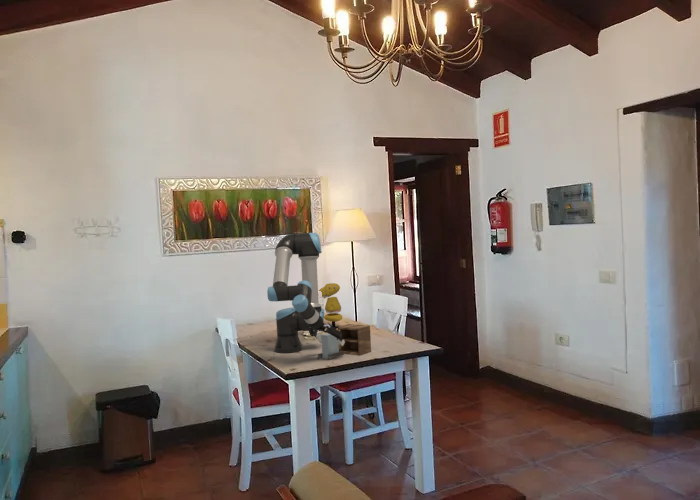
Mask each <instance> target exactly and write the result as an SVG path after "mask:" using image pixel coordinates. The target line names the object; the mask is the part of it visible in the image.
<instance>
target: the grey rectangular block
mask: <svg viewBox="0 0 700 500" xmlns="http://www.w3.org/2000/svg"><path fill="white" fill-rule="evenodd" d="M320 335H321V339H322V344H321V353H322V358H321V359H326V360H327V359H328V355H331V354H334V353H337V352H339V342H338V341H337V339H336V337H334V336H332V335H330V334H329V333H324V334H320ZM328 360H329V359H328Z"/></svg>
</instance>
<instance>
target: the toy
mask: <svg viewBox="0 0 700 500" xmlns="http://www.w3.org/2000/svg"><path fill="white" fill-rule="evenodd" d="M340 289H341V287H340V285H339V284H338V283H331V282H329V283H326V284H325V285H324V286H323V287H321V288H320V289H318V291H321V292H322V297H321V298H323V299H326V302H325V306H324V311H325V313H327V314H324V321H328V322H331V326H333V327H334V328H336V329H338V327H340V326H341V325H340V326H339V325H336V322H339V321H341V320H343V315H342V314H340V312H342V306H341V303H340V302H339V299H338V297H337V296H333V295H336V294H337V293H338V292H339V291H340Z"/></svg>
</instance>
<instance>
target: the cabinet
mask: <svg viewBox="0 0 700 500" xmlns="http://www.w3.org/2000/svg"><path fill="white" fill-rule="evenodd" d="M337 330H338V331H340V332H341V333H342V338H343V340H344V341H345V343H344V345H343V346H341V344H340V343H339V352H337V353H334V354H331V355H328V360H333V359H335V358H338V357H341V356H344V355H352V356H363V355H366V354H368V353H371V352H372V341H371V340H372V339H371V325H368V324H367V325H366V324H355V323H354V324H353V323H352V324H351V323H348V324H344V325H340V327H338V328H337ZM317 357H318V359H323V358H322V352H321V353H317Z"/></svg>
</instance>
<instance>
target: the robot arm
mask: <svg viewBox="0 0 700 500" xmlns="http://www.w3.org/2000/svg"><path fill="white" fill-rule="evenodd" d="M274 250H275V251H274V256H275V265H274V271H273V279H272V281H273V282H272V285H271V286H268V287H267V293H266V294H267V299H268V301H269V302H288V301H291V305H292V307H287V308H282V309H280V310H278V311H277V312H276V314H275V316H276V317H275V321H276V335H277V337H276V340H275V345H274V352H276V353H277V354H290V353H291V354H292V353H297V352H300V351H302V350H303V345H302V342H301V340H300V337H299V332H303V331H309V333H310V335H313V336H312V337H314V338H315V339H316V340H317V341H319V343H320V344H321V345H322V339H321V335H322V334H320V333H319V332H324V334H326V333H329V334H330V335H332V336H334V337H336V339H337V341H338V342H339V343H340V344H341V346H343V345H344V343H345V341H344V340H343V338H342V333H341V332H340V331H338V328H334V327H333V326H332V323H331V324H330V323H329V322H328V323H324V322H325V319H324V316H325V308H322V305H321V304H320V303H319V294H318V291H319V284H318V283H319V282H318V281H319V280H318V259H319V257H320V254H322V245H321V240H320V235H319V233H317V232H303V233H302V232H299V233H289V234H286V235H285V236H283V237H282V238H281V239H279V240H278V243H277V244H276V246H275V248H274ZM293 255H297V256H298V257H297V258H298V260H300V264H301V265H300V266H301V281H298V282H297V284H296V285H289V275H290V263H291V259H292V256H293ZM317 332H318V333H317Z"/></svg>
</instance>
